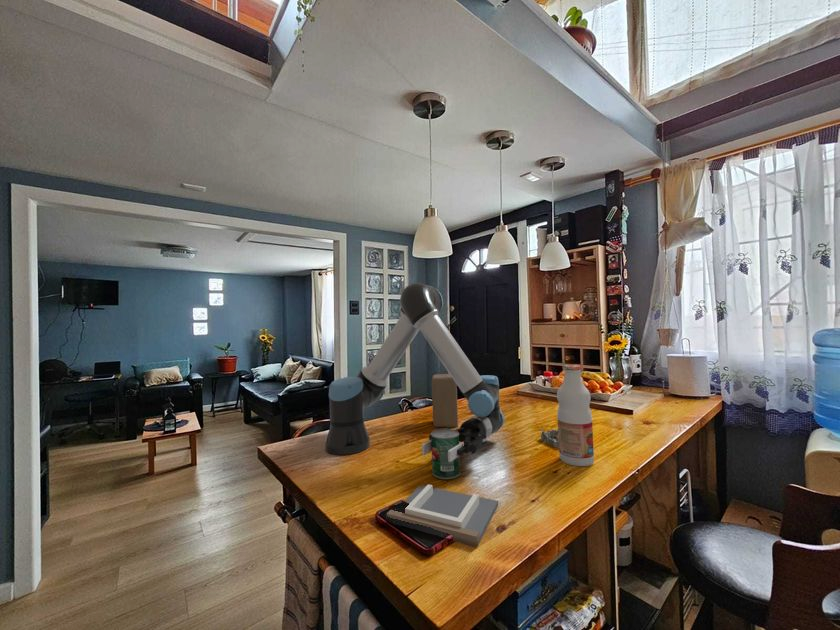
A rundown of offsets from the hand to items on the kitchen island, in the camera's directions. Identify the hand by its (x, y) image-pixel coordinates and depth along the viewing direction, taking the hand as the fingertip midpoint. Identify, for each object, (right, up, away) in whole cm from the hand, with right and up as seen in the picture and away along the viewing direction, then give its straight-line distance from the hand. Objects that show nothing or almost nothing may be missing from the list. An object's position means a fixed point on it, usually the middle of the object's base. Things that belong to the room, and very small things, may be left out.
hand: (435, 453), depth 91 cm
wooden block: (+7, -8, +50) cm, 51 cm away
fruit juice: (+42, -6, +10) cm, 44 cm away
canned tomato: (+3, -7, +4) cm, 9 cm away
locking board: (+1, -7, -15) cm, 17 cm away
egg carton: (+42, -7, +25) cm, 49 cm away
